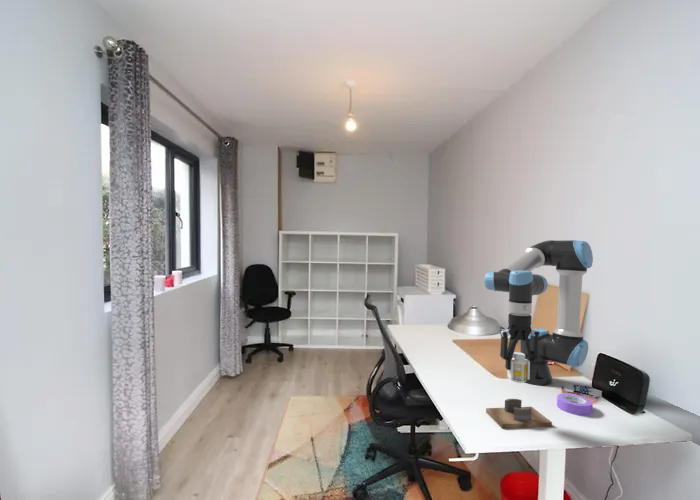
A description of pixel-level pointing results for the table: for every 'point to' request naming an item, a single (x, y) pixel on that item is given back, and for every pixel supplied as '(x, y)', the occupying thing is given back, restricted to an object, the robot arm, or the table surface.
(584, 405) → the masking tape
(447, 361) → the table surface
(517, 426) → the collar board
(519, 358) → the supplement bottle
